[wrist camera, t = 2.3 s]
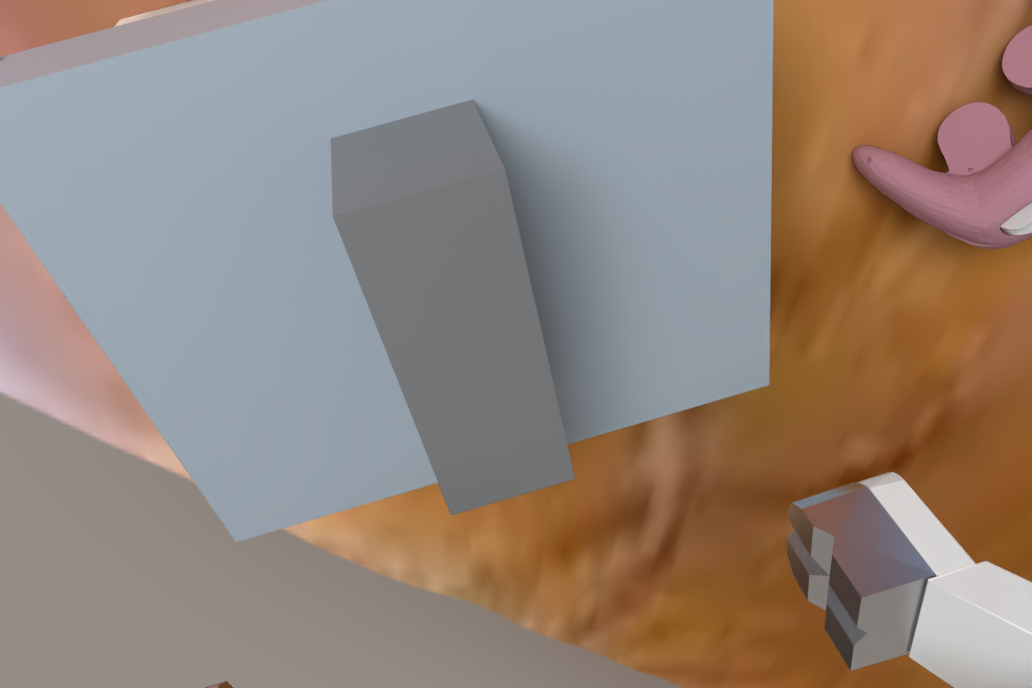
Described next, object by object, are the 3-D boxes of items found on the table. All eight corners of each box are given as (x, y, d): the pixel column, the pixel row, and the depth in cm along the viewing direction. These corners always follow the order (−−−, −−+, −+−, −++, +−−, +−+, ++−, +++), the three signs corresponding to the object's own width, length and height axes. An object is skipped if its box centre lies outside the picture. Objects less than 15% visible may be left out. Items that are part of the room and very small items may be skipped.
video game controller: (871, 182, 32) (1020, 286, 29) (832, 162, 29) (995, 277, 25) (1060, -47, 28) (1263, 41, 24) (1041, -103, 24) (1272, -9, 21)
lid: (716, -134, 17) (882, -95, 12) (730, 332, 25) (832, 470, 20) (-16, 61, 16) (-165, 188, 11) (243, 473, 24) (223, 653, 19)
